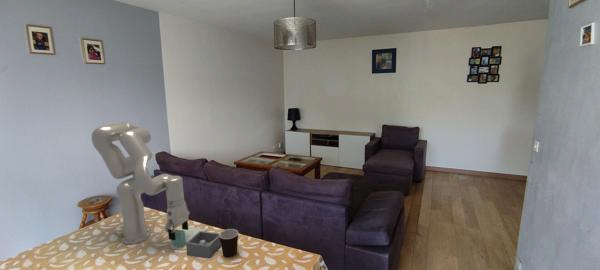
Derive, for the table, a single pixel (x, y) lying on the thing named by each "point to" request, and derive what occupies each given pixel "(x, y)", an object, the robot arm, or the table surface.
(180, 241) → the board with teal handle
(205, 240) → the tub
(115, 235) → the table surface
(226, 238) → the coffee mug
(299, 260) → the table surface
